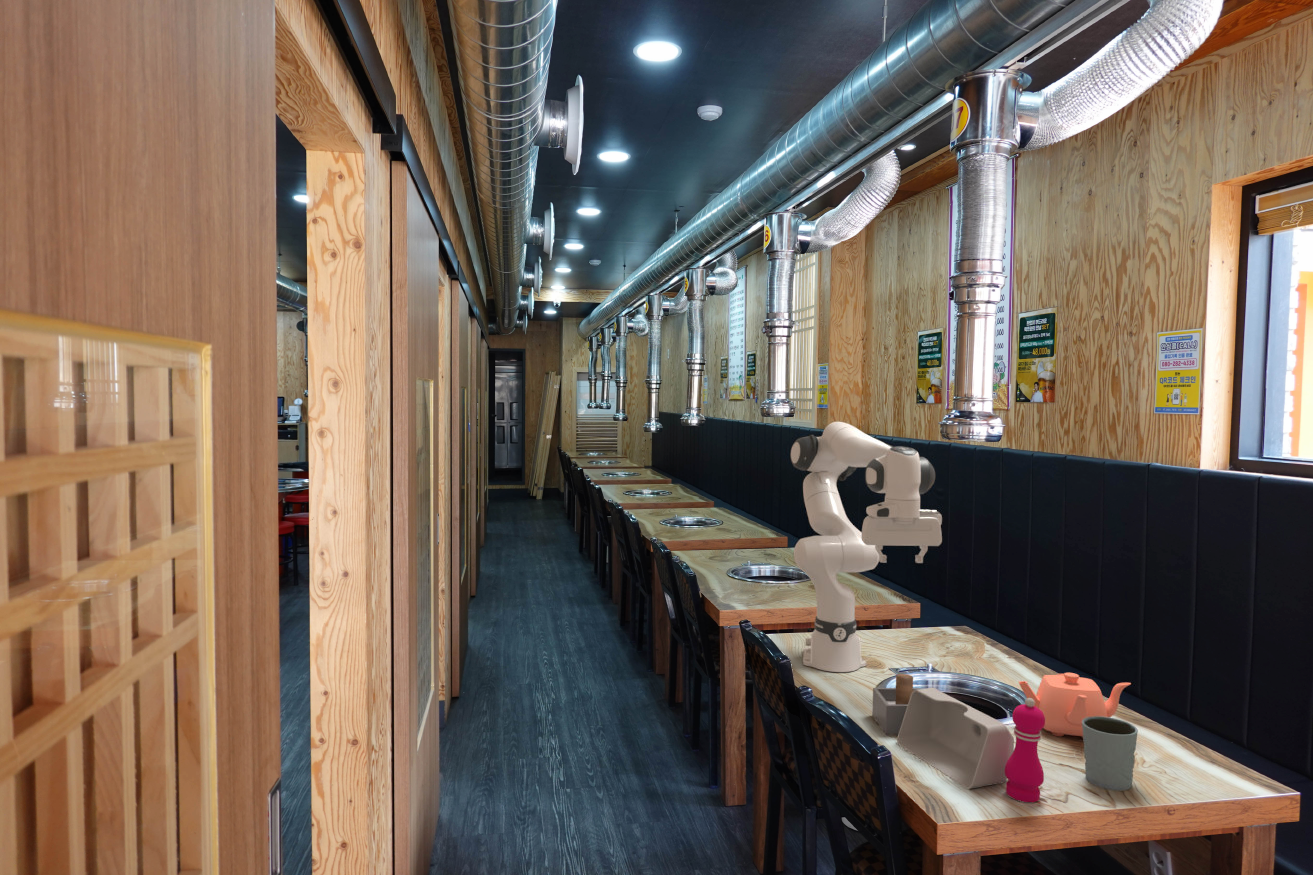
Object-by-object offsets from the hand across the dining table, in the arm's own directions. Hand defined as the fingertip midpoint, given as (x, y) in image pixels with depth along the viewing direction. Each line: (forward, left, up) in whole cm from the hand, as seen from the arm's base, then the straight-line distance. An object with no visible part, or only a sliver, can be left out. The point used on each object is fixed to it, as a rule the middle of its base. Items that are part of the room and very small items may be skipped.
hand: (900, 562), depth 214 cm
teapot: (+18, +37, -37) cm, 56 cm away
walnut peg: (+15, -3, -37) cm, 40 cm away
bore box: (+15, -3, -37) cm, 40 cm away
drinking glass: (+44, +31, -37) cm, 66 cm away
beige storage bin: (+34, +4, -38) cm, 51 cm away
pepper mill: (+51, +10, -37) cm, 64 cm away
